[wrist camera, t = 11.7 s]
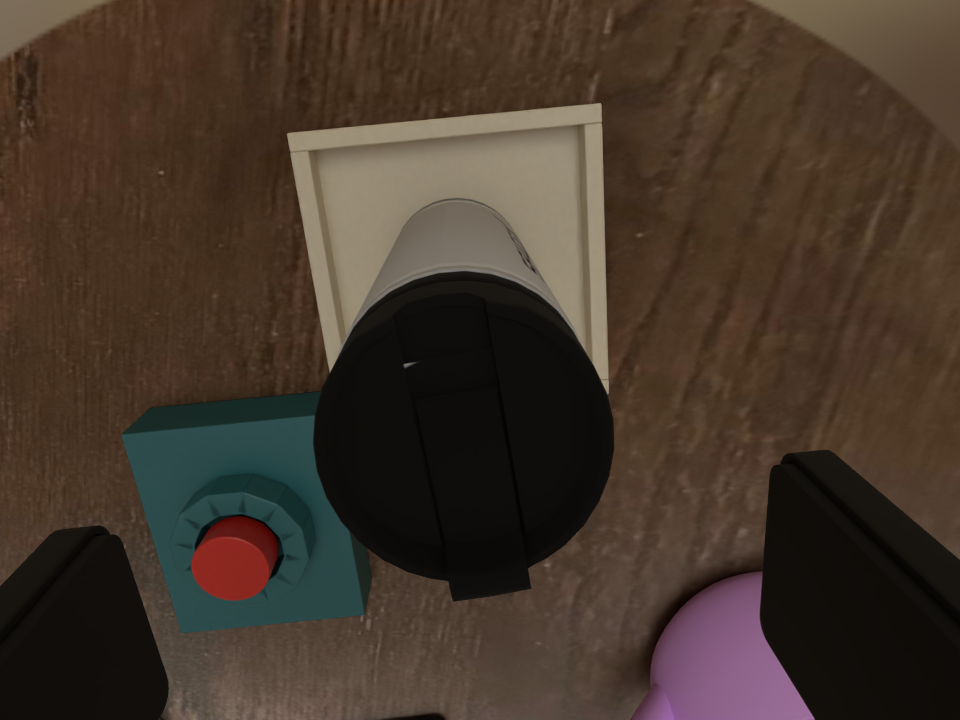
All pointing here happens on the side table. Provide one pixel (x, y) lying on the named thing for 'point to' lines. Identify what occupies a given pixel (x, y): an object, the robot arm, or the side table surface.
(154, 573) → the side table surface
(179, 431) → the block
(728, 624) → the teapot
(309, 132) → the tray
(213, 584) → the button
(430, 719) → the cell phone
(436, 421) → the travel mug
